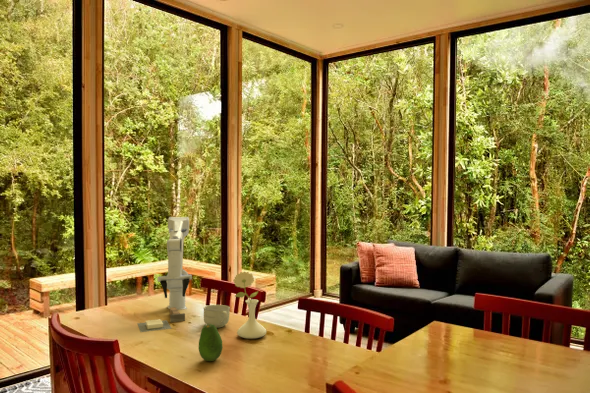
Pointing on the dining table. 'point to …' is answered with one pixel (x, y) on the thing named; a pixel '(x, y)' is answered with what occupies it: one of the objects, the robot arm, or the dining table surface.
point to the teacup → (216, 315)
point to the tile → (154, 324)
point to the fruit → (210, 343)
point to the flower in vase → (251, 326)
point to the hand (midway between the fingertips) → (174, 296)
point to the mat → (144, 328)
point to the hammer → (176, 315)
